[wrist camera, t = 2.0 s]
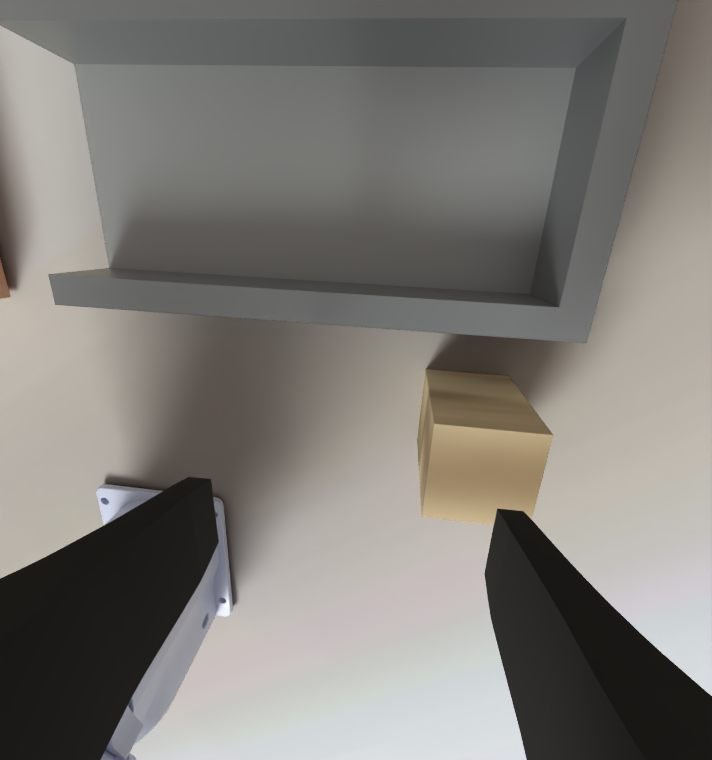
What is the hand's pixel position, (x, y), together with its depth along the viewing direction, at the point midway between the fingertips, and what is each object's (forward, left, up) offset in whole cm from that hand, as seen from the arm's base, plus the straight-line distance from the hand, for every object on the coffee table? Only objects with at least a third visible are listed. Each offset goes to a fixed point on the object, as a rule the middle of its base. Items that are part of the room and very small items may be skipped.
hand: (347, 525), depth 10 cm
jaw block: (-1, -4, -11) cm, 12 cm away
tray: (+9, +3, -11) cm, 14 cm away
